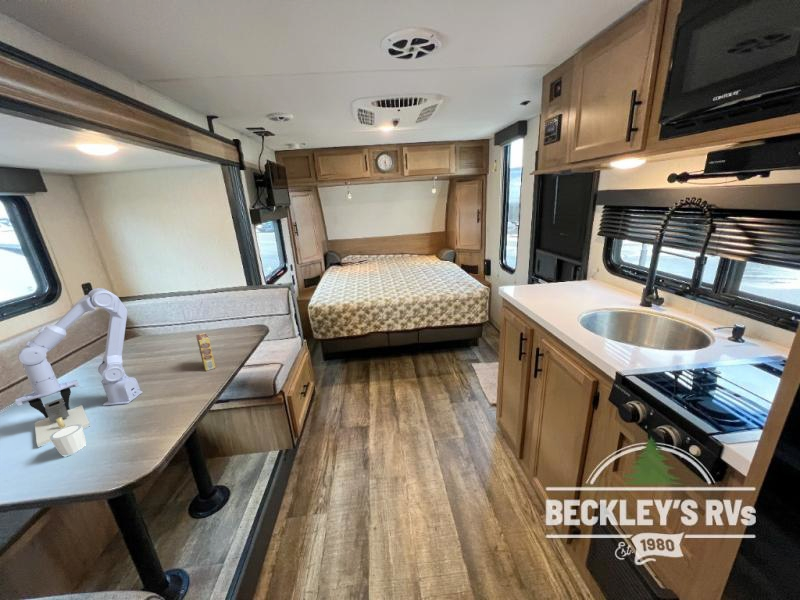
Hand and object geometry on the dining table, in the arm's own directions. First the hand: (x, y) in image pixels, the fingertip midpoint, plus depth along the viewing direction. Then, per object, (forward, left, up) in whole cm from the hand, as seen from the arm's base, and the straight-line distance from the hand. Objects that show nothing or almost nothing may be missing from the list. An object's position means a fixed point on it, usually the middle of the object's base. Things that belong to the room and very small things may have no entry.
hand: (57, 412), depth 109 cm
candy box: (-33, -35, -4) cm, 48 cm away
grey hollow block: (0, 0, -2) cm, 2 cm away
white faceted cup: (-19, +16, -4) cm, 25 cm away
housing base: (-3, +3, -4) cm, 6 cm away
